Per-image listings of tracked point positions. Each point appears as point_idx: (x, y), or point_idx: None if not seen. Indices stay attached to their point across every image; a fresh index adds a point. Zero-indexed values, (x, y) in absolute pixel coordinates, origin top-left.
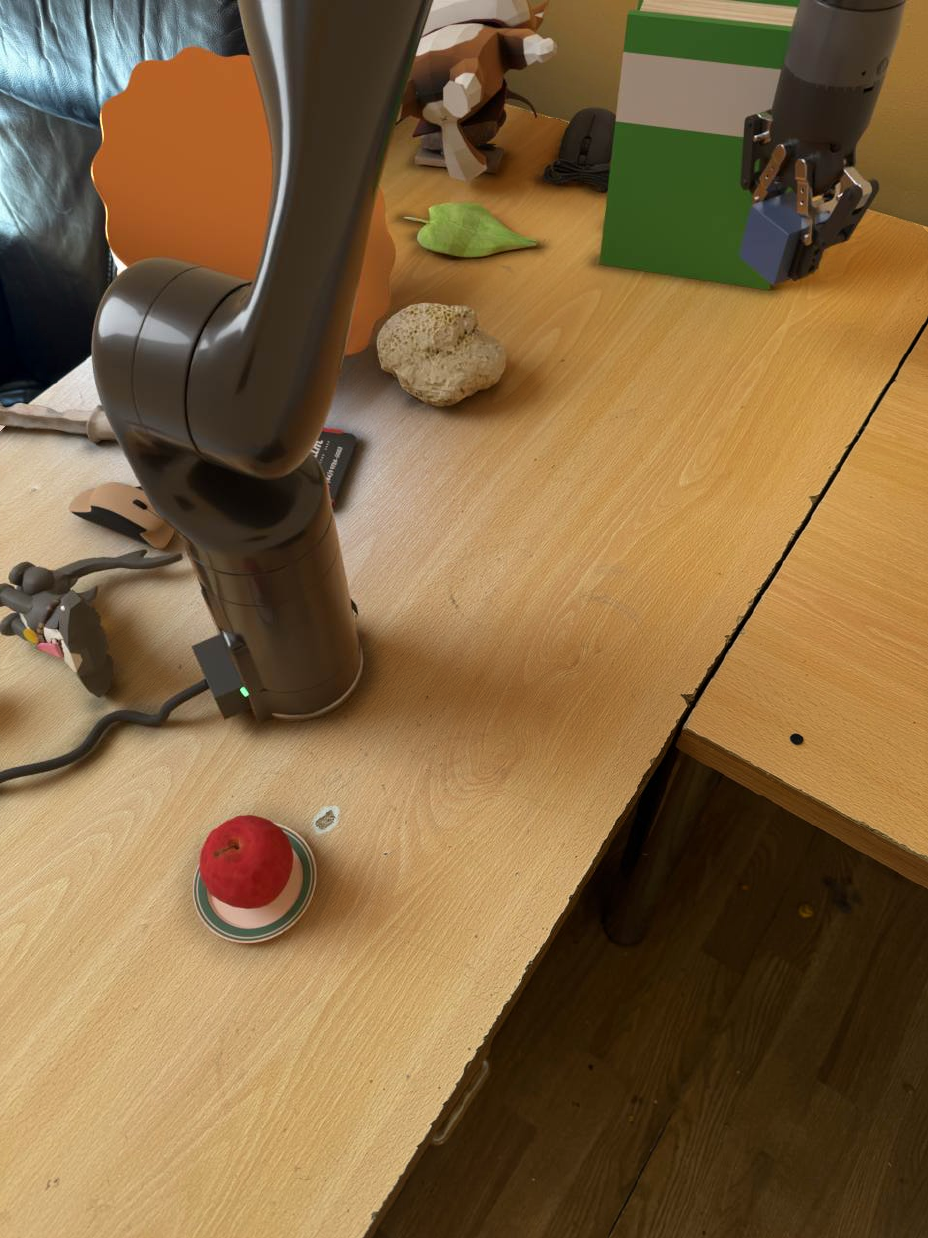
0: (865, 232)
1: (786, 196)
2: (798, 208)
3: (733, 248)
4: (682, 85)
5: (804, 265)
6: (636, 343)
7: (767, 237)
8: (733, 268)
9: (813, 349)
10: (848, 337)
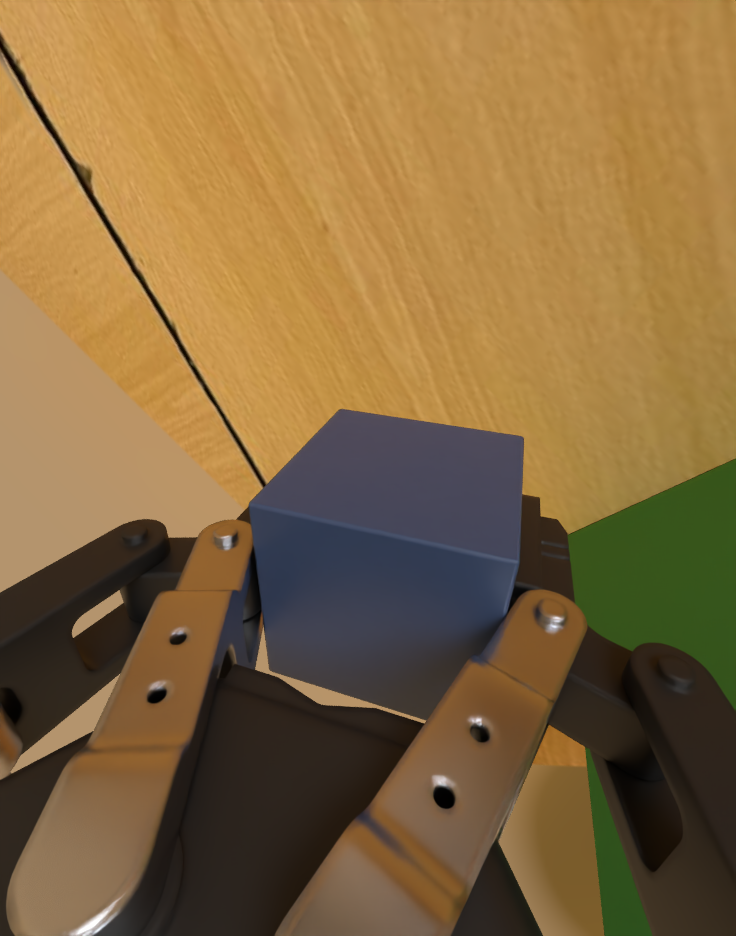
0: (552, 730)
1: None
2: (215, 608)
3: (679, 551)
4: None
5: None
6: (681, 128)
7: (378, 483)
8: (652, 523)
9: None
10: None
